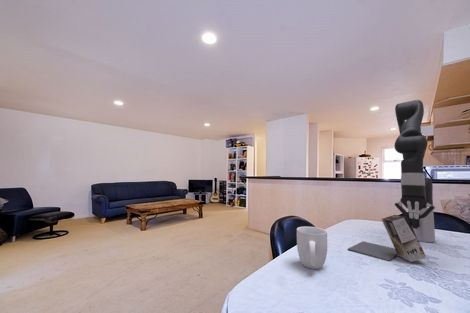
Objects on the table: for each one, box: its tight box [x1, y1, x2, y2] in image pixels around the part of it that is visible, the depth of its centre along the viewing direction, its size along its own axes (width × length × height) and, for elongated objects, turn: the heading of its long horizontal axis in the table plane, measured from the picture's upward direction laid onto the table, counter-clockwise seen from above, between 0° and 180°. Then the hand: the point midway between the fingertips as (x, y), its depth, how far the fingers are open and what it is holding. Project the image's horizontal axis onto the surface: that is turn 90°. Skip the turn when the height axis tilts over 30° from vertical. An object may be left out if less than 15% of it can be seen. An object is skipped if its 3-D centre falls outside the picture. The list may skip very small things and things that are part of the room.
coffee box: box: [381, 214, 427, 263], centre depth 88 cm, size 9×6×16 cm
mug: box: [296, 226, 328, 270], centre depth 79 cm, size 15×11×13 cm
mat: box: [347, 240, 398, 262], centre depth 97 cm, size 18×16×1 cm
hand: (415, 228), depth 85 cm, fingers closed
